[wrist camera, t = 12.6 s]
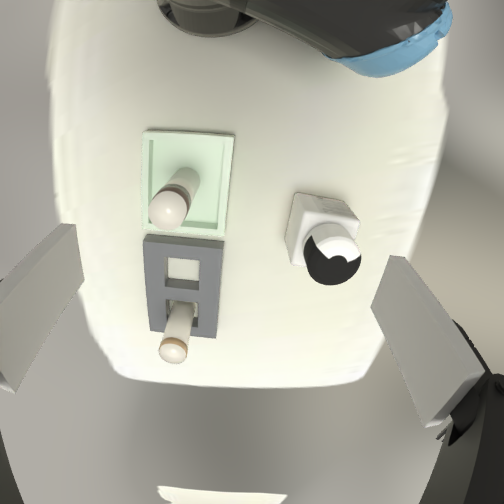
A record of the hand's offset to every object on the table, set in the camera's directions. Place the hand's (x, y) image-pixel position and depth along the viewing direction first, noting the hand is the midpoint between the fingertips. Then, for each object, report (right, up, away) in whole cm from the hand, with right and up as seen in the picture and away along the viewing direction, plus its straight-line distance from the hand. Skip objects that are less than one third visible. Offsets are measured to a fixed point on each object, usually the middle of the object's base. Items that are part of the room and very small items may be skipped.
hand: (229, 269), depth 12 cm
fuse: (-11, -8, +41) cm, 43 cm away
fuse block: (-10, -5, +39) cm, 40 cm away
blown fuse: (-8, +11, +30) cm, 33 cm away
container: (+10, +6, +34) cm, 36 cm away
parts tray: (-8, +11, +30) cm, 33 cm away
